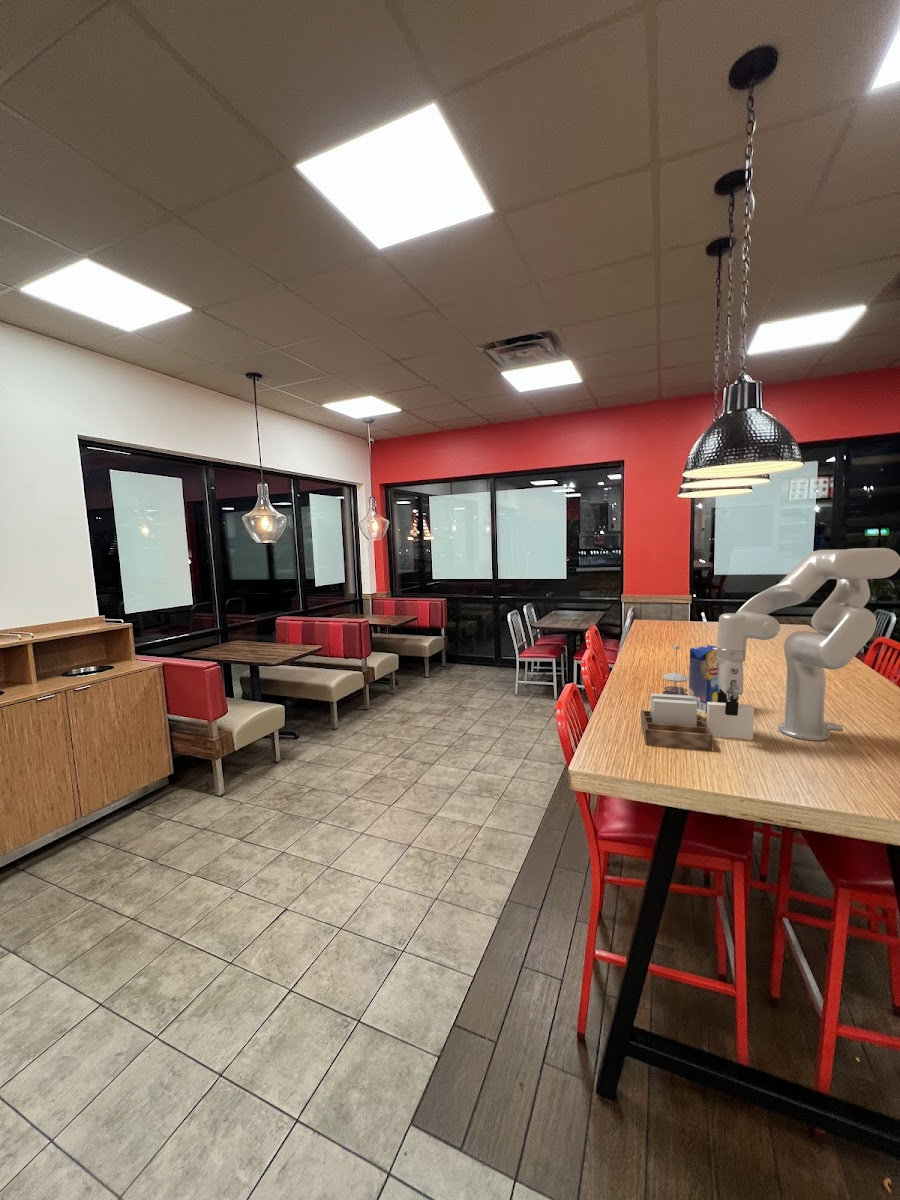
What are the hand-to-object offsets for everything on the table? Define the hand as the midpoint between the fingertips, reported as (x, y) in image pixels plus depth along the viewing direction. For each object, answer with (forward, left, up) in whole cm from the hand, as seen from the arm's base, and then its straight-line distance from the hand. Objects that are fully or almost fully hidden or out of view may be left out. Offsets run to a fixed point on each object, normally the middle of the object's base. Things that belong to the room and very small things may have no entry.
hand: (726, 709), depth 144 cm
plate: (-1, 0, -8) cm, 8 cm away
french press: (+12, -14, -9) cm, 21 cm away
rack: (+15, +4, -8) cm, 18 cm away
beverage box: (0, -27, -9) cm, 29 cm away
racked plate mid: (+15, +4, -8) cm, 18 cm away
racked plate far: (+15, -2, -8) cm, 17 cm away
